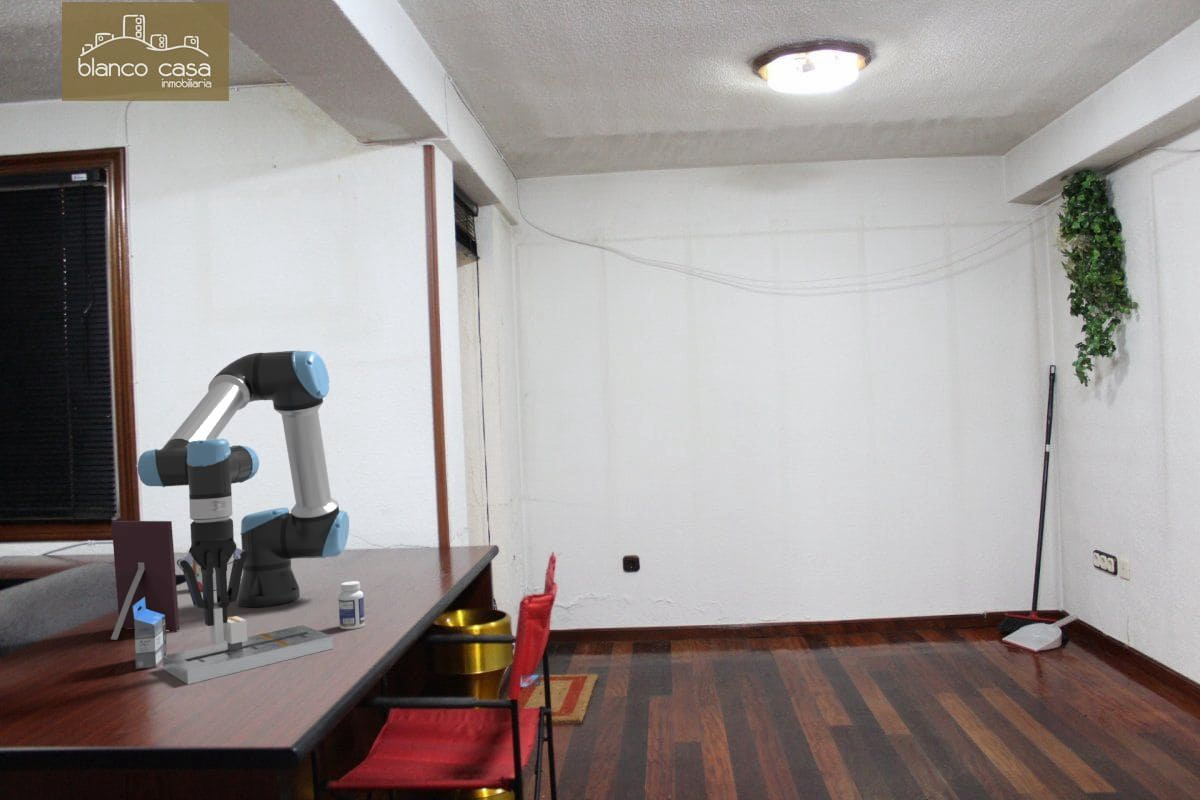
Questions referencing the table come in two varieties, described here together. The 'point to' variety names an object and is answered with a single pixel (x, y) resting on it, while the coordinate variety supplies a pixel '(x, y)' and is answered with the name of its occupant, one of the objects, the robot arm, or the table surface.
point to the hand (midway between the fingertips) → (217, 641)
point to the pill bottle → (351, 606)
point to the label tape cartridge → (149, 636)
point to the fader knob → (235, 633)
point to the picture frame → (145, 571)
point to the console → (246, 654)
